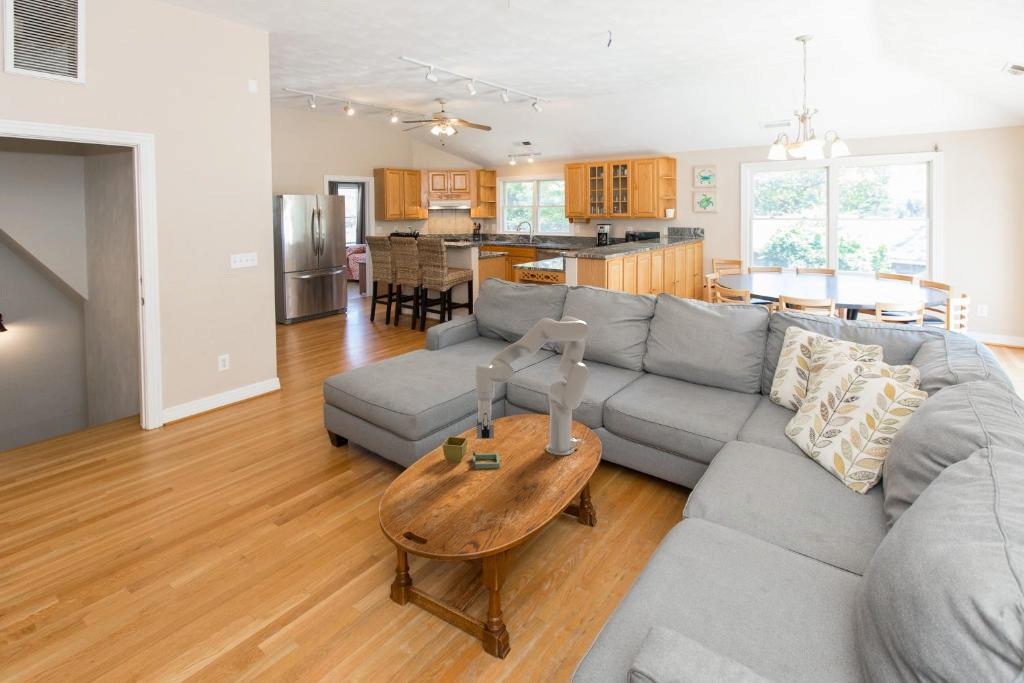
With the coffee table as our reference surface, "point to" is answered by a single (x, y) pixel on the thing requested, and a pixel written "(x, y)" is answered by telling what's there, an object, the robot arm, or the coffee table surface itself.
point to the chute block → (479, 427)
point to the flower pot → (454, 449)
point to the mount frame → (486, 456)
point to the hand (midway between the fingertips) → (485, 434)
